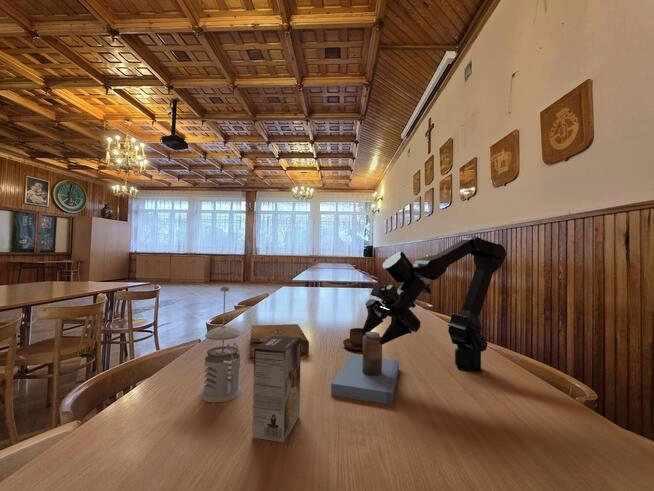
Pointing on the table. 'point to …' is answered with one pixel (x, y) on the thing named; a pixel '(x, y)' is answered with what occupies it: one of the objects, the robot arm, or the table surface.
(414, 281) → the robot arm
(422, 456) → the table surface
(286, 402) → the coffee box
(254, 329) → the diary
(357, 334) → the cup and saucer
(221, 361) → the french press
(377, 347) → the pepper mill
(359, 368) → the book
